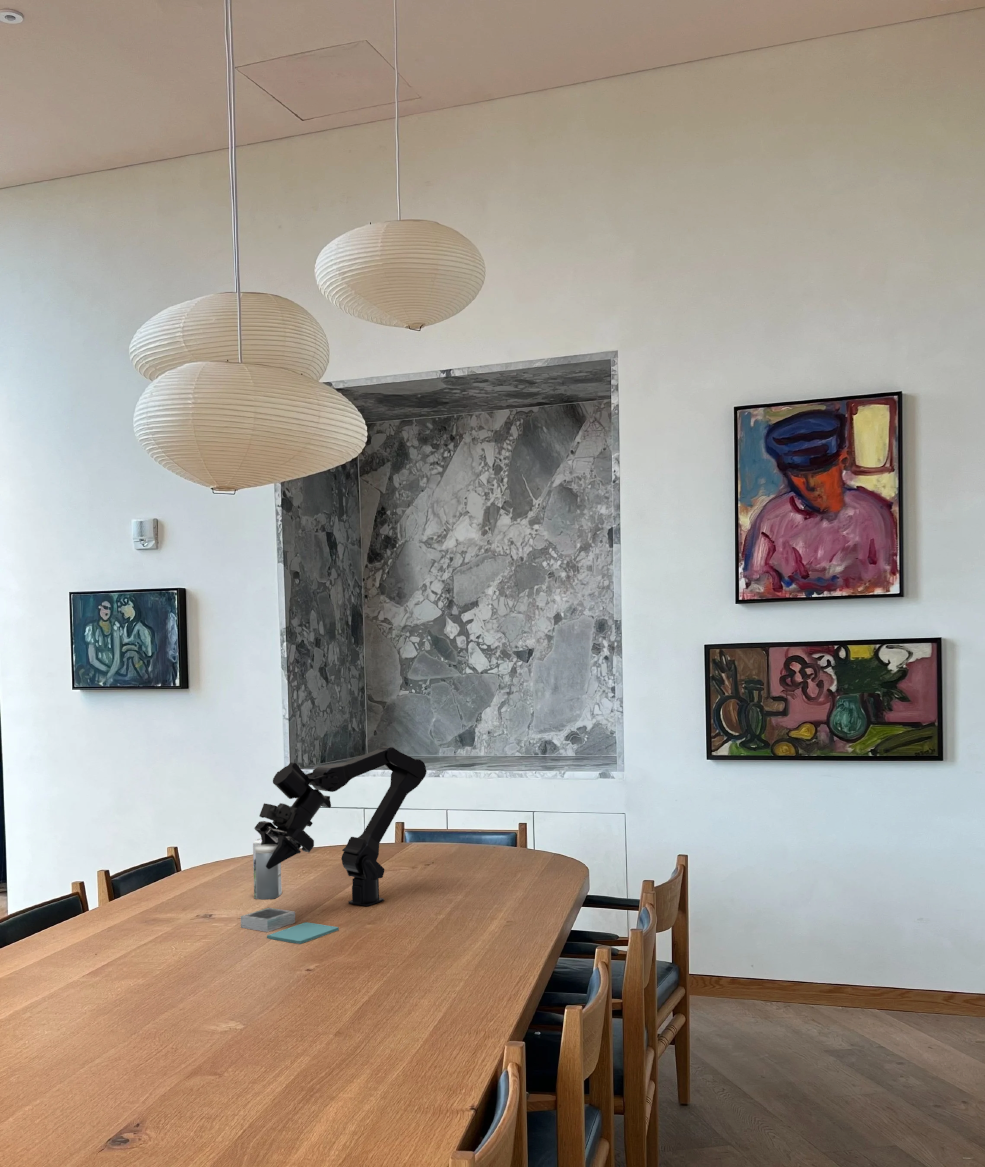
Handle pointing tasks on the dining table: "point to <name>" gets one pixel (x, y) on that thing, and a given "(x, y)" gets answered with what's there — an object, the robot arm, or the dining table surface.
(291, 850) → the robot arm
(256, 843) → the syrup box
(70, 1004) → the dining table surface
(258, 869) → the ball
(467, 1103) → the dining table surface
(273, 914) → the collar
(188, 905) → the dining table surface
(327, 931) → the mat
